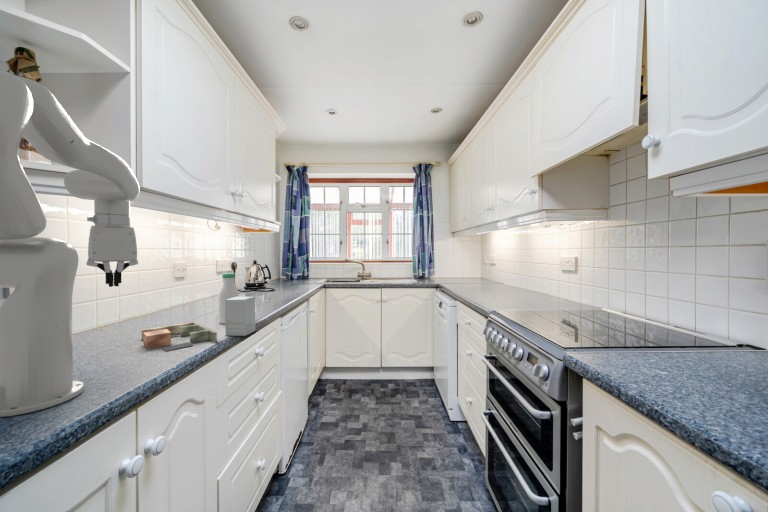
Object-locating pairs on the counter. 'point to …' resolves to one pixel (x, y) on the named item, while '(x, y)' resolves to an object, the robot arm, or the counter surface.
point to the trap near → (177, 346)
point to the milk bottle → (226, 294)
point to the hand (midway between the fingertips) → (113, 286)
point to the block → (156, 338)
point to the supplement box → (239, 316)
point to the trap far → (174, 335)
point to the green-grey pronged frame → (189, 331)
